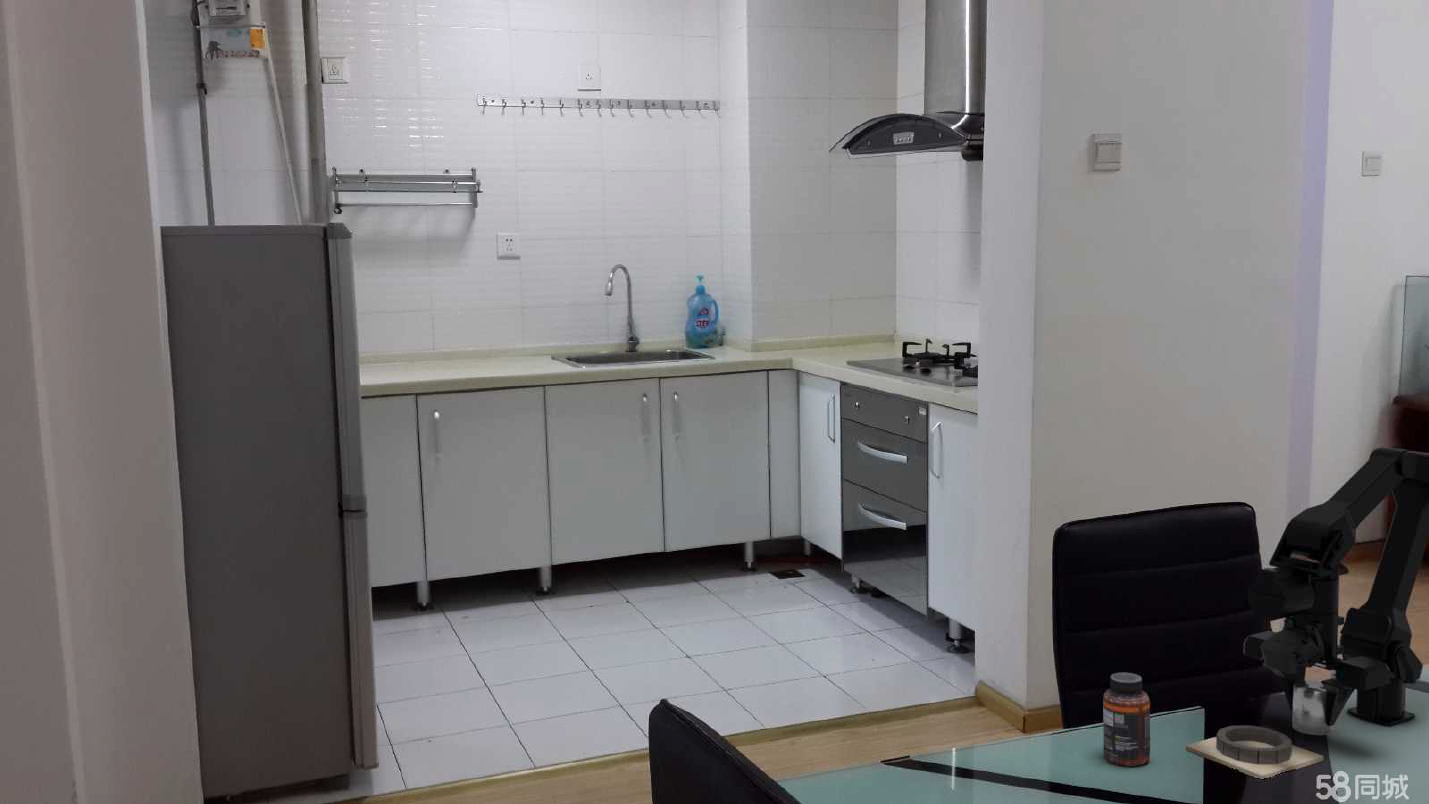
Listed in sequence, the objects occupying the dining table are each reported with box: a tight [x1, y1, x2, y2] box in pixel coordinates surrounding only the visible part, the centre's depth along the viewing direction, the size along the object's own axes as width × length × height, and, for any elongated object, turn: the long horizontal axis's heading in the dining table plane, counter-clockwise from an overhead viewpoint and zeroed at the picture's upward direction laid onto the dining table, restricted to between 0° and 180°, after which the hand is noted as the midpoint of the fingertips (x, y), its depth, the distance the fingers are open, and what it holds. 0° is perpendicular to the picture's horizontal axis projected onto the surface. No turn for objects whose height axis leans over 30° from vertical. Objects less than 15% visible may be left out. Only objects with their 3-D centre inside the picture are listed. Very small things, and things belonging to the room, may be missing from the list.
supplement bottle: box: [1102, 672, 1151, 767], centre depth 166 cm, size 6×6×11 cm
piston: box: [1291, 679, 1334, 736], centre depth 171 cm, size 5×5×6 cm
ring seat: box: [1185, 725, 1324, 780], centre depth 166 cm, size 12×12×2 cm
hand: (1312, 719), depth 172 cm, fingers closed on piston, 5 cm apart
